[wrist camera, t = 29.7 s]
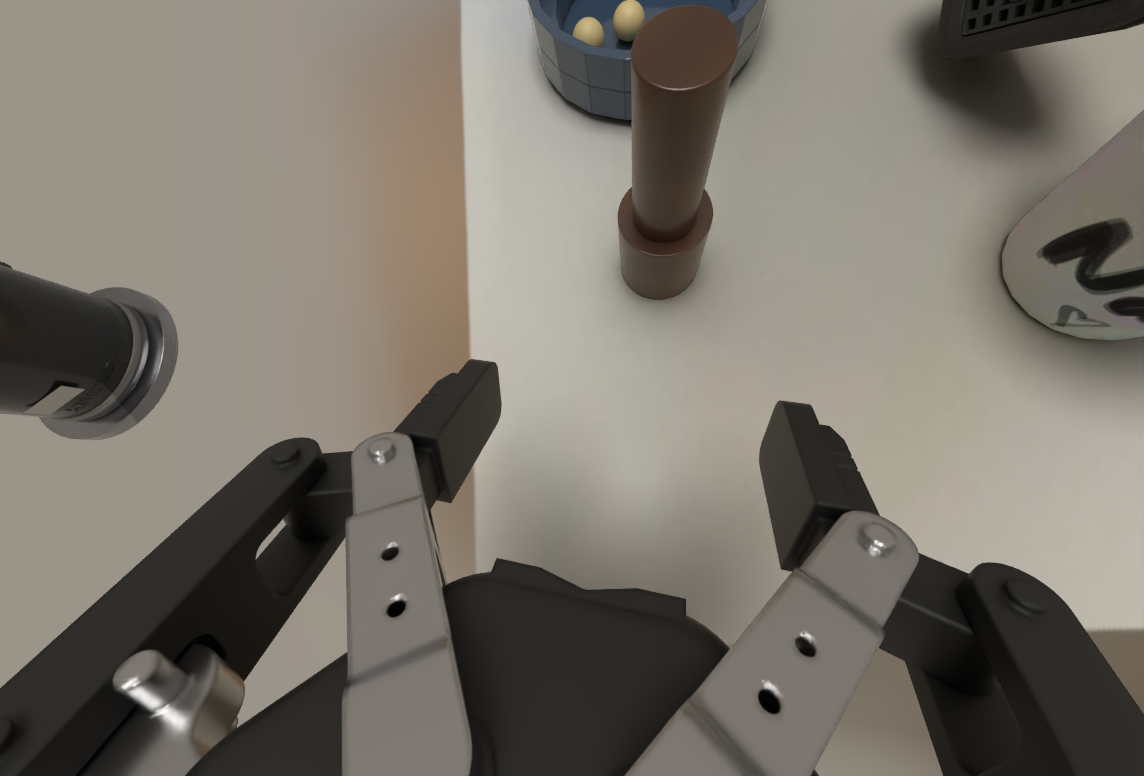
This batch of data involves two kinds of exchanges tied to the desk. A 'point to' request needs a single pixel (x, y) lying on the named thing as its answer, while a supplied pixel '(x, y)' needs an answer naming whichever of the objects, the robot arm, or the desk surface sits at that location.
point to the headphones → (1027, 23)
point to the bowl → (616, 47)
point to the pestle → (673, 145)
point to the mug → (1086, 246)
